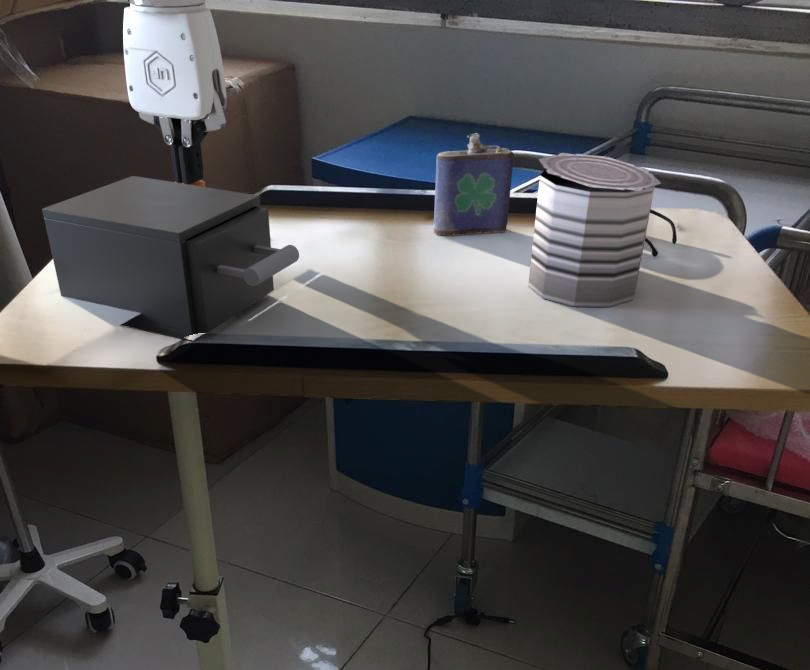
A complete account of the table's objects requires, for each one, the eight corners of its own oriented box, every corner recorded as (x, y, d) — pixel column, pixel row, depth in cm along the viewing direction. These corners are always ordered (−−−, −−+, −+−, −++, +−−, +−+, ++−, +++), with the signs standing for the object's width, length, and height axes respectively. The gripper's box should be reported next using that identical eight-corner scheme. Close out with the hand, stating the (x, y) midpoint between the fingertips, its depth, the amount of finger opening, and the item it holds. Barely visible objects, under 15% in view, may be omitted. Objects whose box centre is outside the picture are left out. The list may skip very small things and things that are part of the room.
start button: (194, 204, 100) (192, 188, 99) (168, 200, 101) (166, 184, 100) (212, 196, 103) (211, 181, 102) (187, 192, 104) (185, 177, 103)
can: (558, 260, 98) (573, 145, 91) (655, 284, 93) (679, 163, 86) (506, 290, 91) (518, 166, 84) (608, 317, 85) (630, 188, 78)
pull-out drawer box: (313, 298, 86) (309, 215, 81) (249, 341, 77) (241, 252, 73) (160, 268, 91) (149, 189, 87) (86, 305, 83) (69, 220, 78)
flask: (436, 237, 104) (440, 139, 98) (429, 229, 106) (433, 133, 100) (510, 232, 106) (519, 136, 100) (501, 225, 108) (509, 130, 102)
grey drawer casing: (267, 295, 88) (260, 195, 83) (193, 341, 79) (179, 233, 73) (147, 271, 93) (132, 175, 87) (64, 312, 84) (41, 208, 78)
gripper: (83, -9, 90) (115, 180, 101) (207, 0, 85) (226, 198, 96) (130, -15, 95) (156, 165, 106) (249, -6, 91) (263, 181, 101)
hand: (189, 180), depth 101 cm, fingers closed
